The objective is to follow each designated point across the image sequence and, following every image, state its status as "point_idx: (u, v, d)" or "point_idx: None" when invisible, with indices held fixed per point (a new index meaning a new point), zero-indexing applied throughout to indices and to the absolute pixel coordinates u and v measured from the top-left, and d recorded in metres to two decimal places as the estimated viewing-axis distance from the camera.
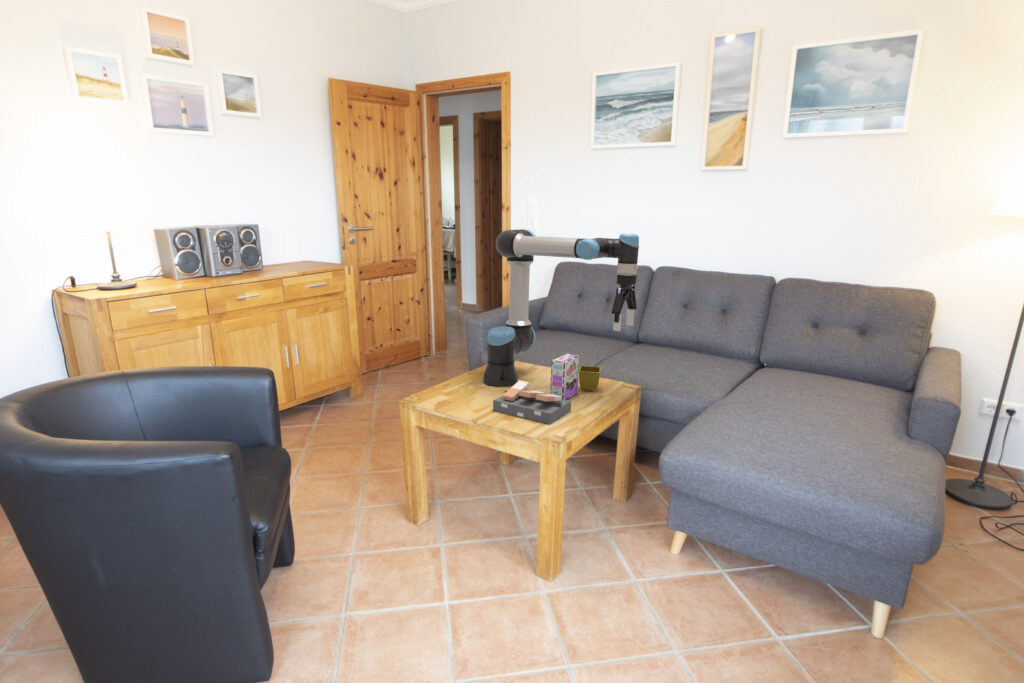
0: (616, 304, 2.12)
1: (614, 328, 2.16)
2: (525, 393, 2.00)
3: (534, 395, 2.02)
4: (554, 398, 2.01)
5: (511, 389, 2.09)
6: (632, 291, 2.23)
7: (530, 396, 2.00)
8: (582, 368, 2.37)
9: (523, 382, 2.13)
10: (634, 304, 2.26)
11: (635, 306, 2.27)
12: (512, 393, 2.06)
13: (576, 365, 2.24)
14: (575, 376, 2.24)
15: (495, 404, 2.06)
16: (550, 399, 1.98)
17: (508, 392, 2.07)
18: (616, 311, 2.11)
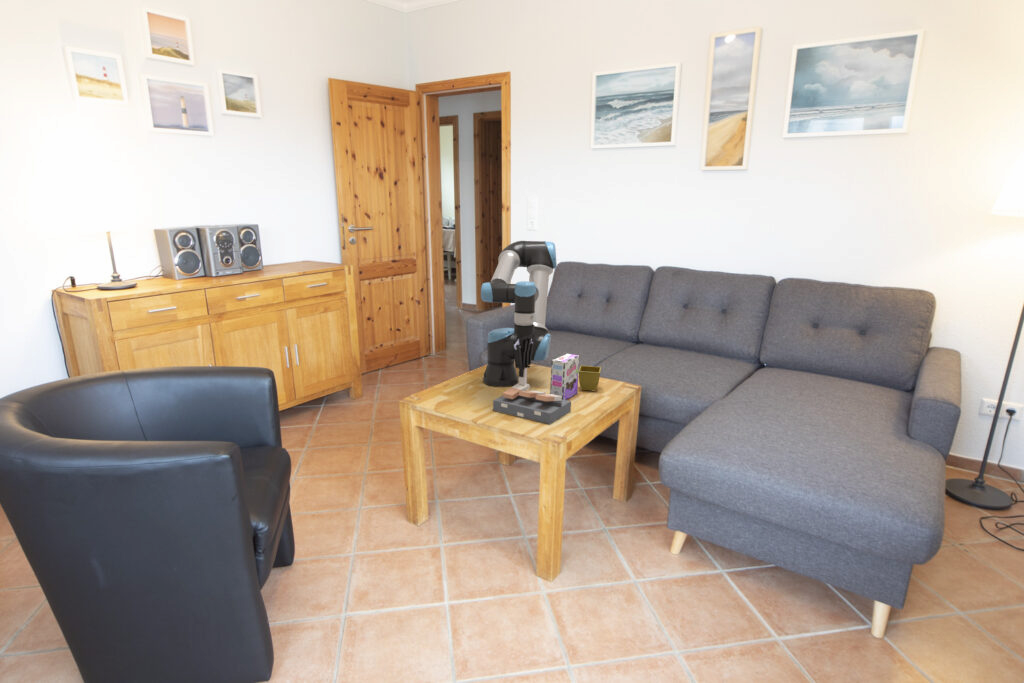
0: (517, 360, 2.07)
1: (519, 382, 2.12)
2: (525, 393, 2.00)
3: (534, 395, 2.02)
4: (554, 398, 2.01)
5: (511, 388, 2.09)
6: (530, 344, 2.13)
7: (530, 396, 2.00)
8: (582, 368, 2.37)
9: None
10: None
11: (529, 363, 2.12)
12: (512, 391, 2.06)
13: (576, 365, 2.24)
14: (575, 376, 2.24)
15: (495, 404, 2.06)
16: (550, 399, 1.98)
17: (508, 391, 2.07)
18: (519, 367, 2.08)
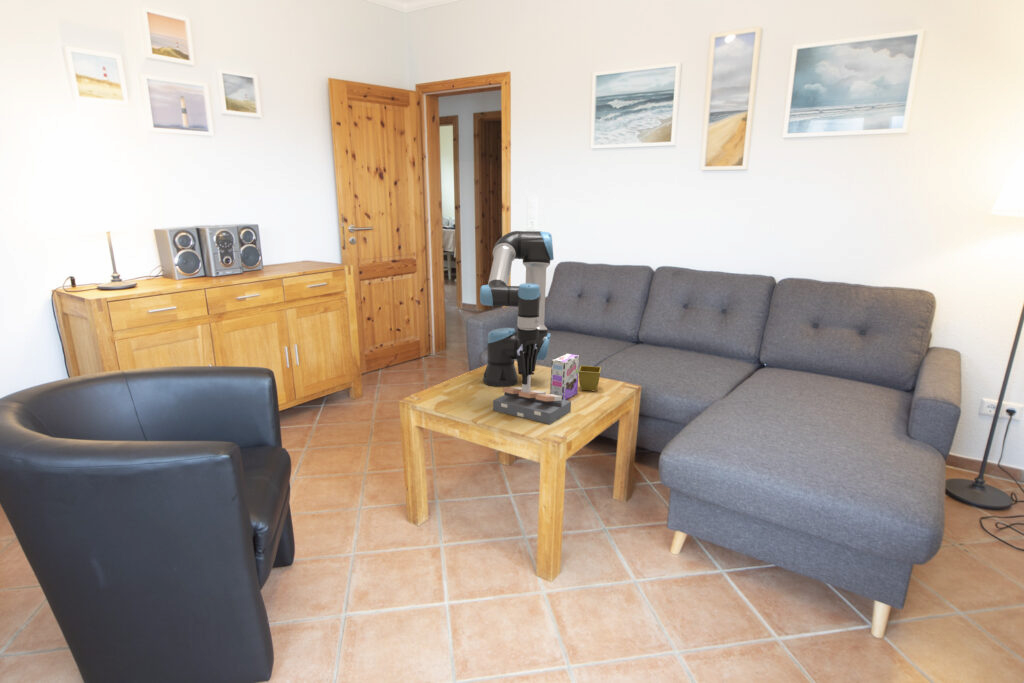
0: (520, 367, 1.96)
1: (523, 390, 2.01)
2: (525, 394, 2.00)
3: (534, 395, 2.02)
4: (554, 398, 2.01)
5: (512, 387, 2.09)
6: (534, 350, 2.01)
7: (530, 396, 2.00)
8: (582, 368, 2.37)
9: None
10: (531, 368, 2.01)
11: (533, 369, 2.01)
12: (512, 388, 2.06)
13: (576, 365, 2.24)
14: (575, 376, 2.24)
15: (495, 404, 2.06)
16: (550, 399, 1.98)
17: (509, 387, 2.07)
18: (523, 374, 1.96)
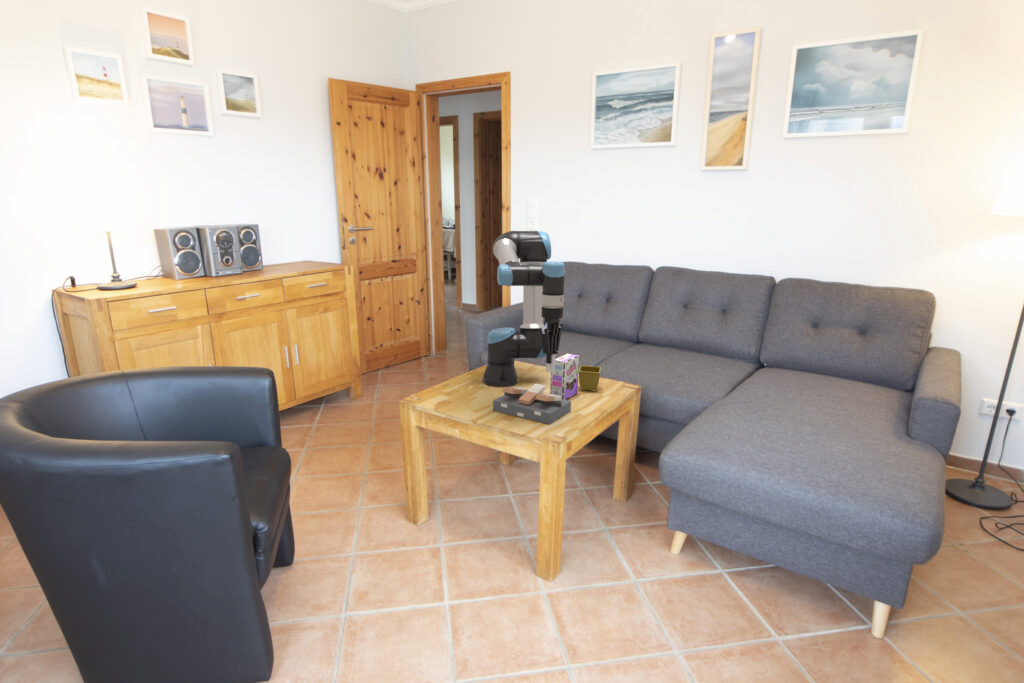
0: (545, 346, 1.94)
1: (547, 369, 1.99)
2: (525, 401, 2.01)
3: (534, 398, 2.03)
4: (554, 398, 2.01)
5: (512, 387, 2.09)
6: (558, 329, 2.00)
7: (530, 403, 2.01)
8: (582, 368, 2.37)
9: (523, 388, 2.13)
10: (555, 348, 1.99)
11: (557, 349, 1.99)
12: (512, 388, 2.06)
13: (576, 365, 2.24)
14: (575, 376, 2.24)
15: (495, 404, 2.06)
16: (550, 399, 1.98)
17: (509, 387, 2.07)
18: (547, 353, 1.95)
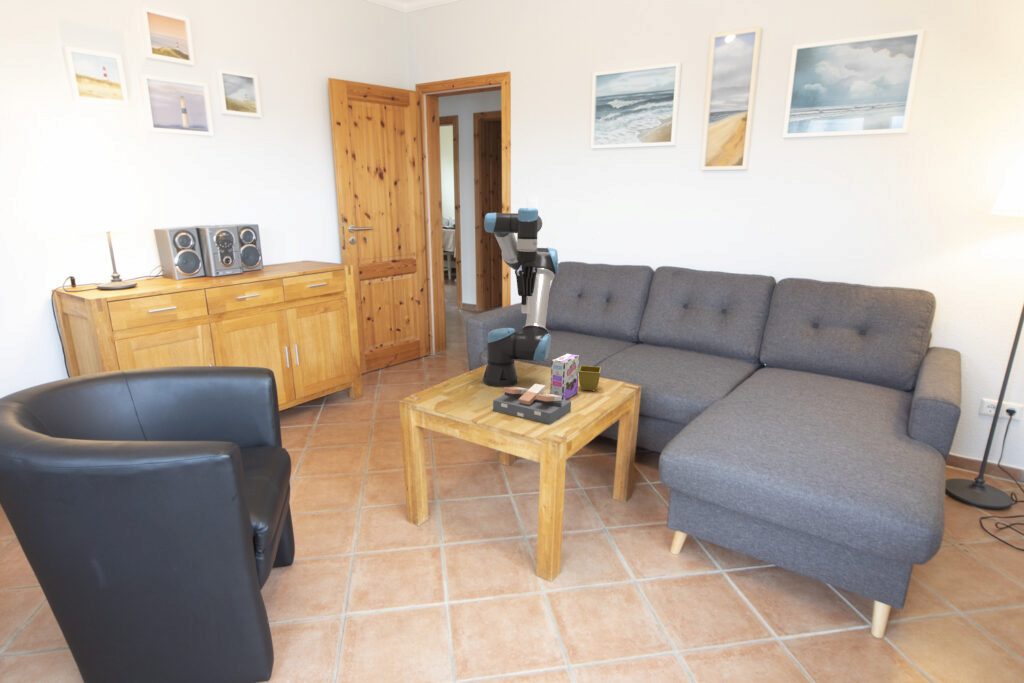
0: (520, 287, 2.07)
1: (522, 311, 2.13)
2: (525, 401, 2.01)
3: (534, 398, 2.03)
4: (554, 398, 2.01)
5: (512, 387, 2.09)
6: (533, 273, 2.13)
7: (530, 403, 2.01)
8: (582, 368, 2.37)
9: (523, 388, 2.13)
10: (530, 290, 2.12)
11: (531, 292, 2.13)
12: (512, 388, 2.06)
13: (576, 365, 2.24)
14: (575, 376, 2.24)
15: (495, 404, 2.06)
16: (550, 399, 1.98)
17: (509, 387, 2.07)
18: (522, 294, 2.08)
